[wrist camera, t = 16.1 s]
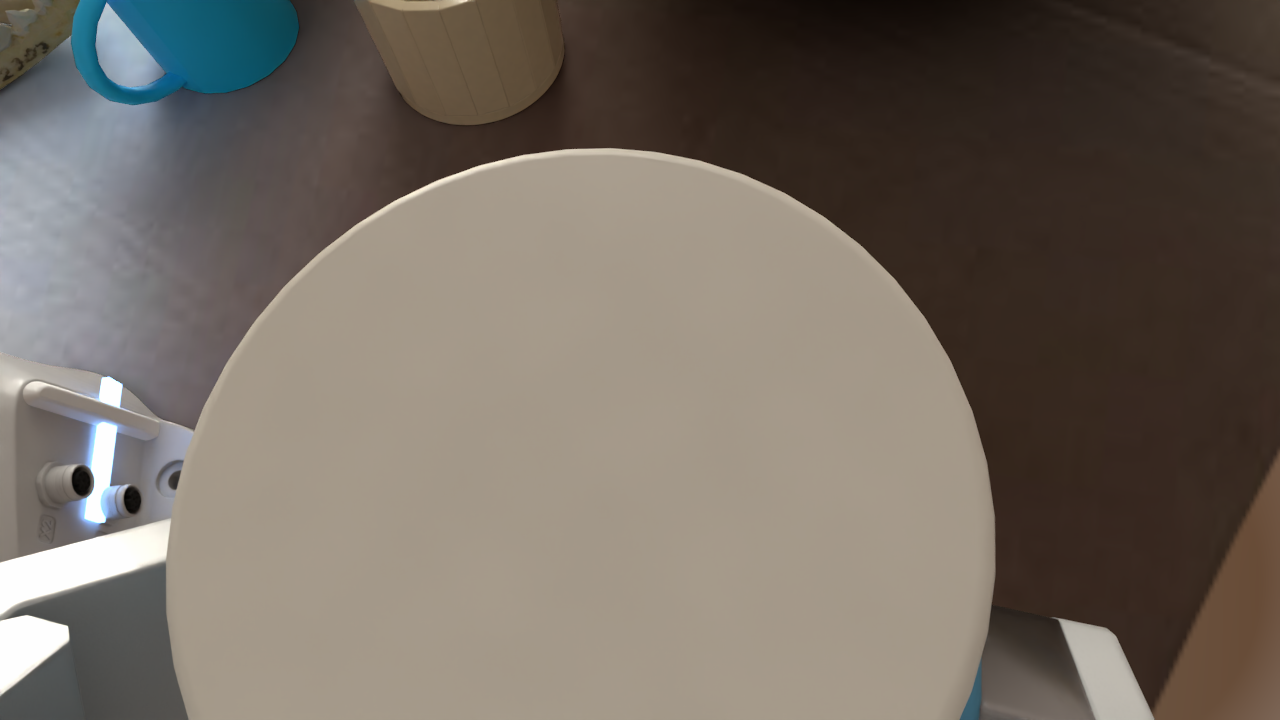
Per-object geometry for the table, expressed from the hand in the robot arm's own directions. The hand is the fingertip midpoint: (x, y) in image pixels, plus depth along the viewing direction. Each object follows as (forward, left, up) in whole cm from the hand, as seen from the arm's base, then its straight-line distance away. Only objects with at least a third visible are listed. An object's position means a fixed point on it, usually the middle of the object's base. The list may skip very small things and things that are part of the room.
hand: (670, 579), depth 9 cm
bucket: (+34, +1, -26) cm, 43 cm away
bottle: (-1, 0, -10) cm, 10 cm away
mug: (+40, +16, -26) cm, 50 cm away
